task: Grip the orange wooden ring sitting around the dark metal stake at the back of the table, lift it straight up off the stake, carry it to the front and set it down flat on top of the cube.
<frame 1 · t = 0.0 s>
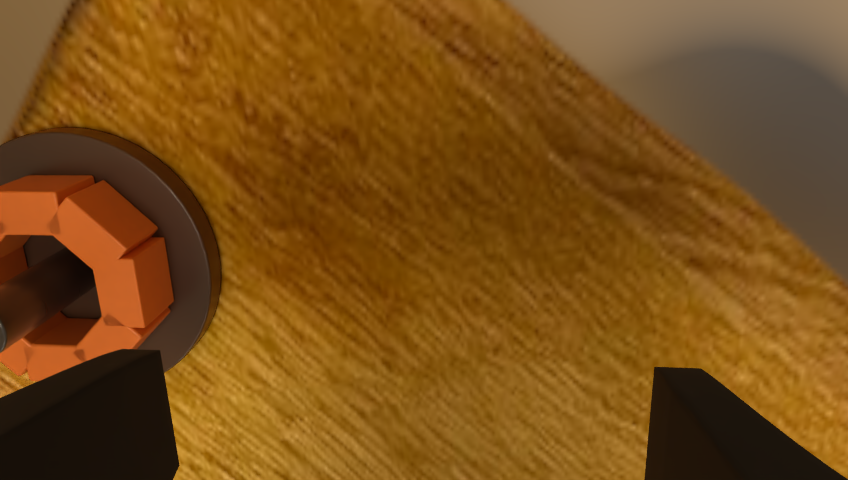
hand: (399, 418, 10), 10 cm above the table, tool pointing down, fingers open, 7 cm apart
stake: (94, 258, 22), on the table
ring: (79, 267, 21), point 1 cm above the table, touching stake
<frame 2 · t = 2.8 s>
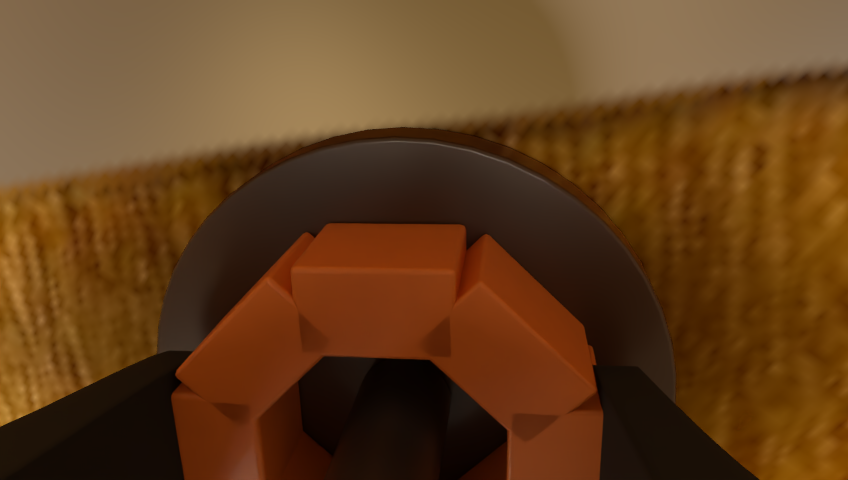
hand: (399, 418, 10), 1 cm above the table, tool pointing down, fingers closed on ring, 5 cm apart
stake: (412, 370, 12), on the table
ring: (402, 396, 11), point 1 cm above the table, touching gripper, stake
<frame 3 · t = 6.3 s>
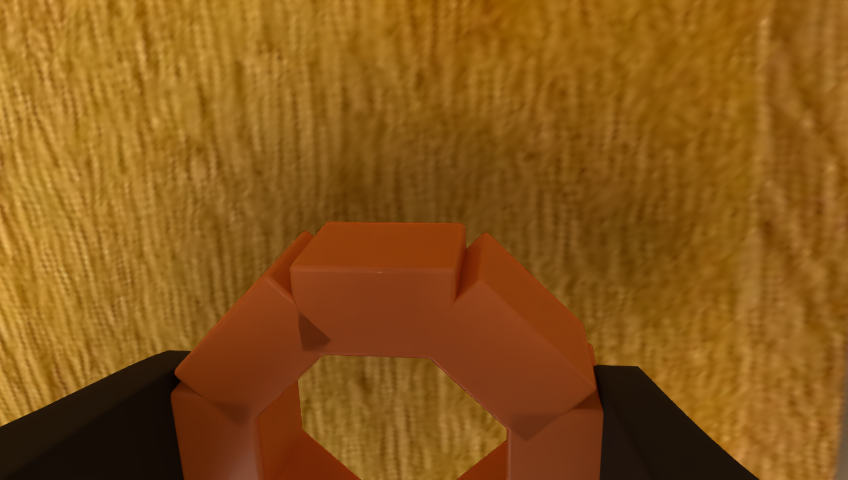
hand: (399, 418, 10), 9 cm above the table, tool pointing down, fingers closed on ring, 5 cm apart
ring: (402, 395, 11), point 8 cm above the table, touching gripper
when the fingers open (7 cm above the table, at t = 10.1 s): ring stays where it is, resting on cube.
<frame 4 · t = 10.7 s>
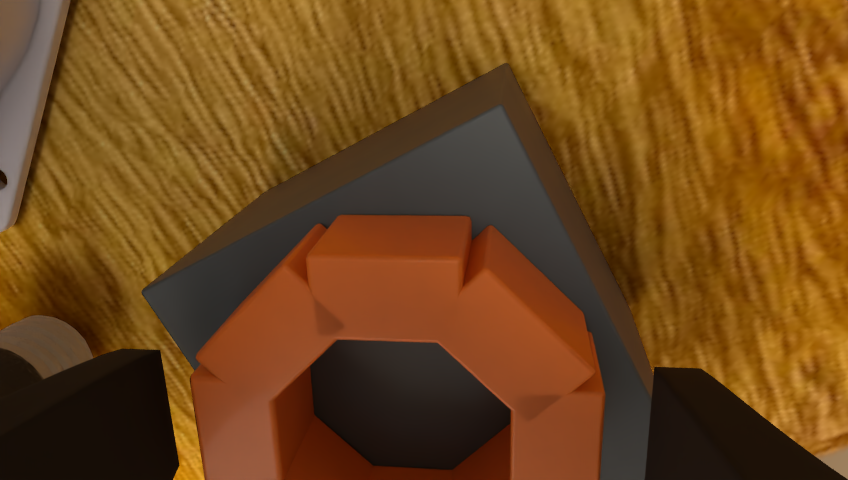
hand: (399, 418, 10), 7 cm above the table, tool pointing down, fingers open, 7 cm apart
cube: (445, 251, 17), on the table
ring: (410, 381, 11), point 6 cm above the table, touching cube
light bulb: (72, 339, 19), on the table
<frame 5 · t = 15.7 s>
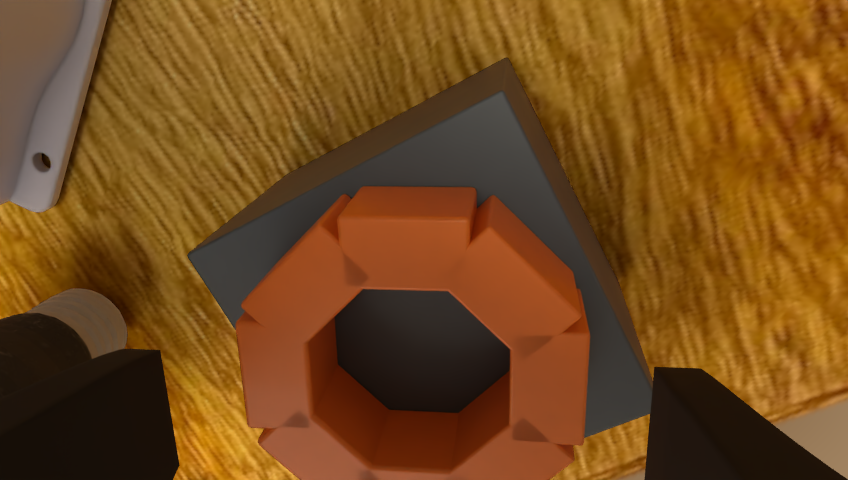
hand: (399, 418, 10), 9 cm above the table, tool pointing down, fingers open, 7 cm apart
cube: (451, 229, 19), on the table
ring: (422, 333, 13), point 6 cm above the table, touching cube
light bulb: (105, 312, 21), on the table
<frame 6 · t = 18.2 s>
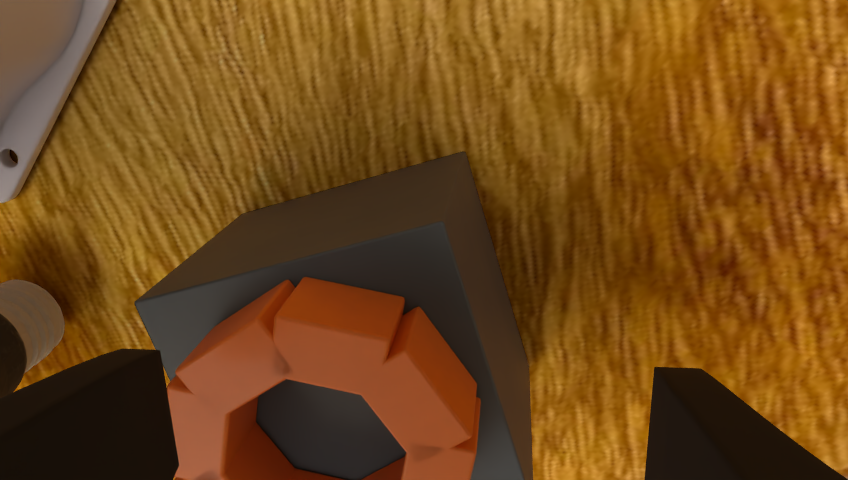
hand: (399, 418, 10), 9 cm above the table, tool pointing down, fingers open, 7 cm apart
cube: (386, 291, 20), on the table
ring: (336, 409, 14), point 6 cm above the table, touching cube
light bulb: (46, 303, 22), on the table
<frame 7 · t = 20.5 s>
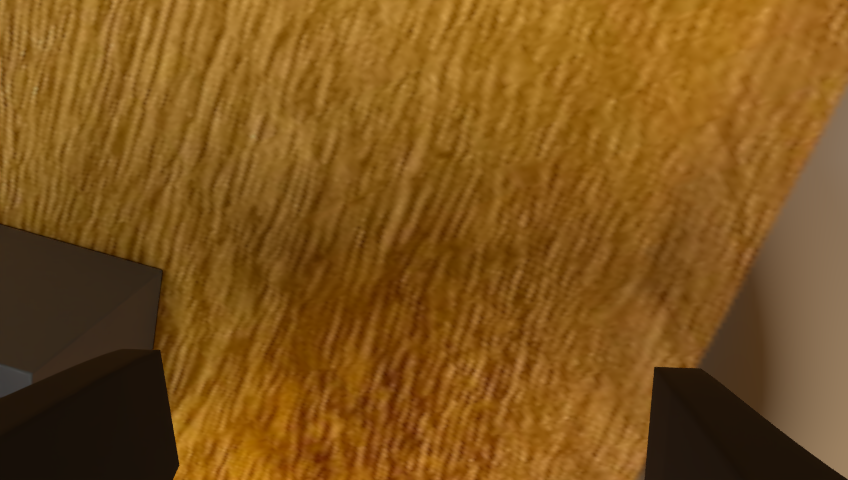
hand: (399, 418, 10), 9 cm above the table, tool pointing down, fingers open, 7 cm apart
cube: (50, 335, 22), on the table
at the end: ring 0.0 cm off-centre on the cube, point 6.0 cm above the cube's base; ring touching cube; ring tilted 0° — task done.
